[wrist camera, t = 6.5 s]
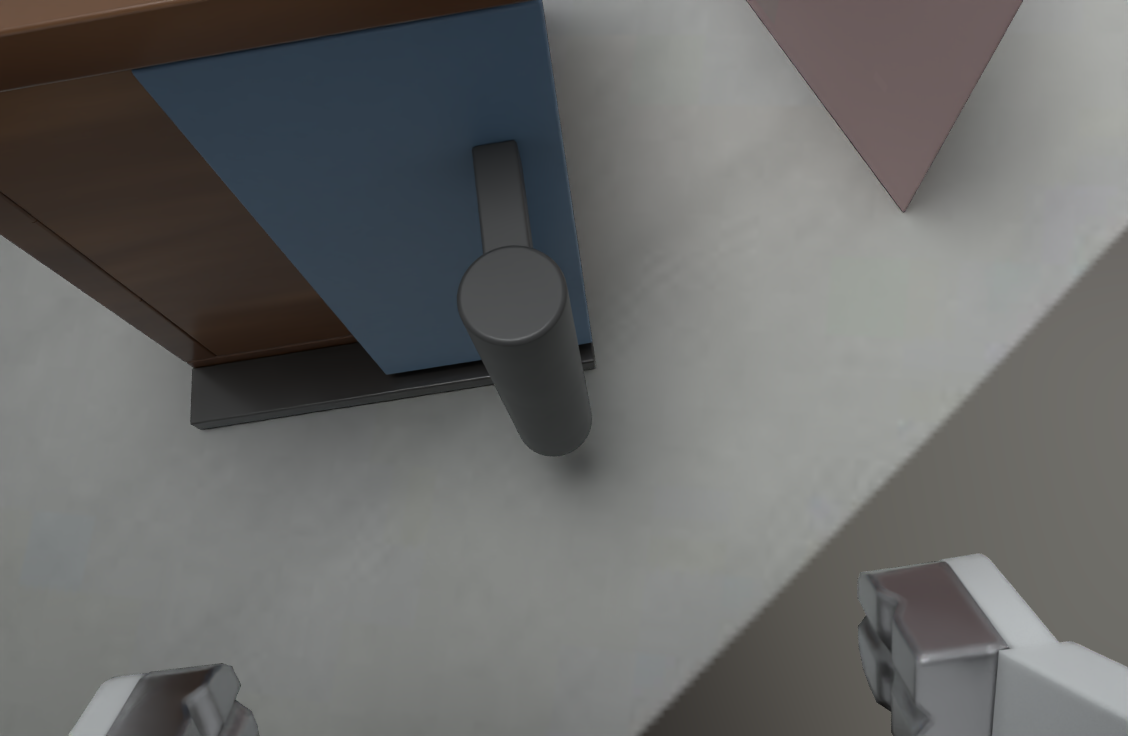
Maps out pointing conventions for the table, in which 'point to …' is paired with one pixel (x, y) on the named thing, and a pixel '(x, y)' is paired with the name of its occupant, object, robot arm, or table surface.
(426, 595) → the table surface
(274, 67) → the cabinet door
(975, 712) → the robot arm
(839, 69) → the greeting card
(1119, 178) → the table surface
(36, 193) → the cabinet
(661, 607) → the table surface
